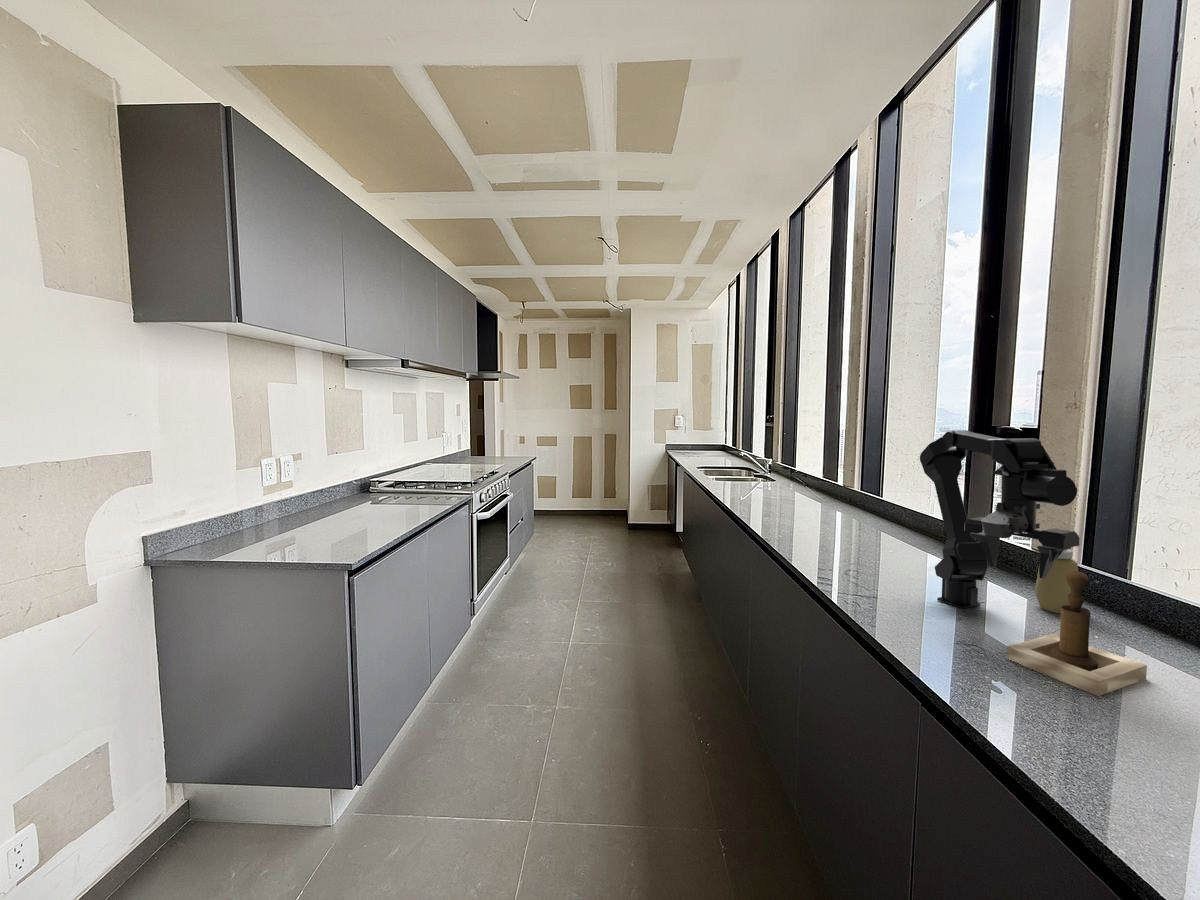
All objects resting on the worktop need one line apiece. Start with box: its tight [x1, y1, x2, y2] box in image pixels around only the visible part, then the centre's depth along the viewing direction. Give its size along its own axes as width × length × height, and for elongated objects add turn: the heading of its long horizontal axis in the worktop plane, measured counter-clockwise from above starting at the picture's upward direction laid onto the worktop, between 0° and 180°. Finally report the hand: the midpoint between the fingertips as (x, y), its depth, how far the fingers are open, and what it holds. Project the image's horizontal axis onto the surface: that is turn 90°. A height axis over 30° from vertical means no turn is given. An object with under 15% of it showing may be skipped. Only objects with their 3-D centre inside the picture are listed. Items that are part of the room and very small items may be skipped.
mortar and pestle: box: [1049, 570, 1099, 671], centre depth 94 cm, size 7×6×18 cm
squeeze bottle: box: [1034, 549, 1079, 614], centre depth 121 cm, size 8×8×18 cm
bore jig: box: [1005, 633, 1148, 697], centre depth 95 cm, size 14×14×2 cm
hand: (1016, 572), depth 109 cm, fingers open, 9 cm apart
